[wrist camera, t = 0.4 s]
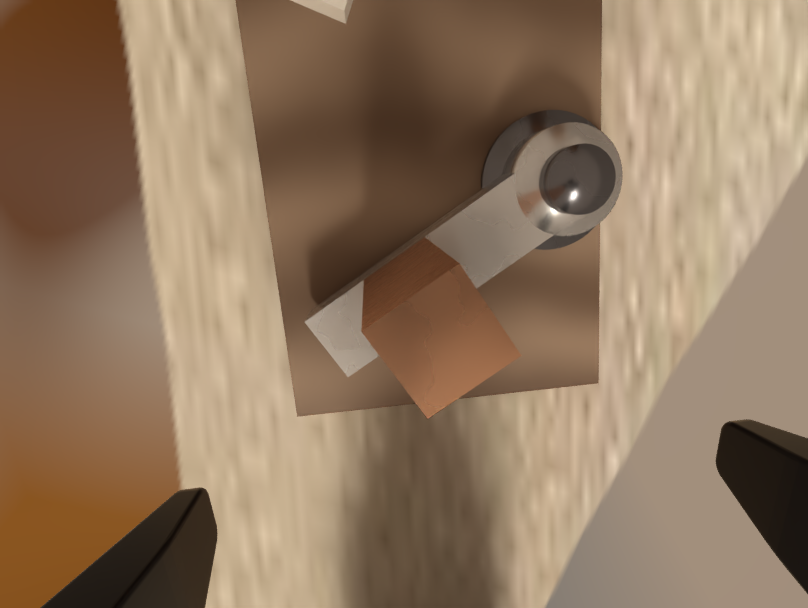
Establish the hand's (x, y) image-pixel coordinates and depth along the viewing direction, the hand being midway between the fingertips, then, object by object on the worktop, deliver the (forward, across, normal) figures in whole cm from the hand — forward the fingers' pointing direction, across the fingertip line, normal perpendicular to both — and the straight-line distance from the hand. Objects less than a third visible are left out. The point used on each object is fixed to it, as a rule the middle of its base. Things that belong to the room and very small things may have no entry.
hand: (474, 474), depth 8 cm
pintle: (+15, -7, -3) cm, 17 cm away
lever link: (+14, -3, -1) cm, 14 cm away
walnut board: (+16, -2, -5) cm, 17 cm away
